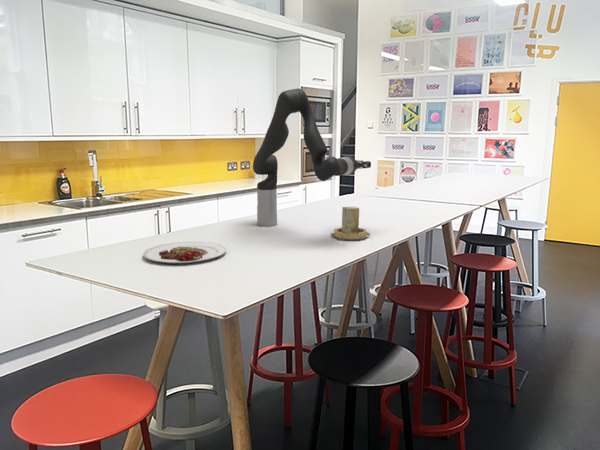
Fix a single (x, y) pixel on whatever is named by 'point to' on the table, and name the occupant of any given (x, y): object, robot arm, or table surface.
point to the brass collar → (350, 234)
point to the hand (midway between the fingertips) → (360, 163)
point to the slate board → (351, 239)
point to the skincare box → (350, 219)
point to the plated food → (184, 252)
